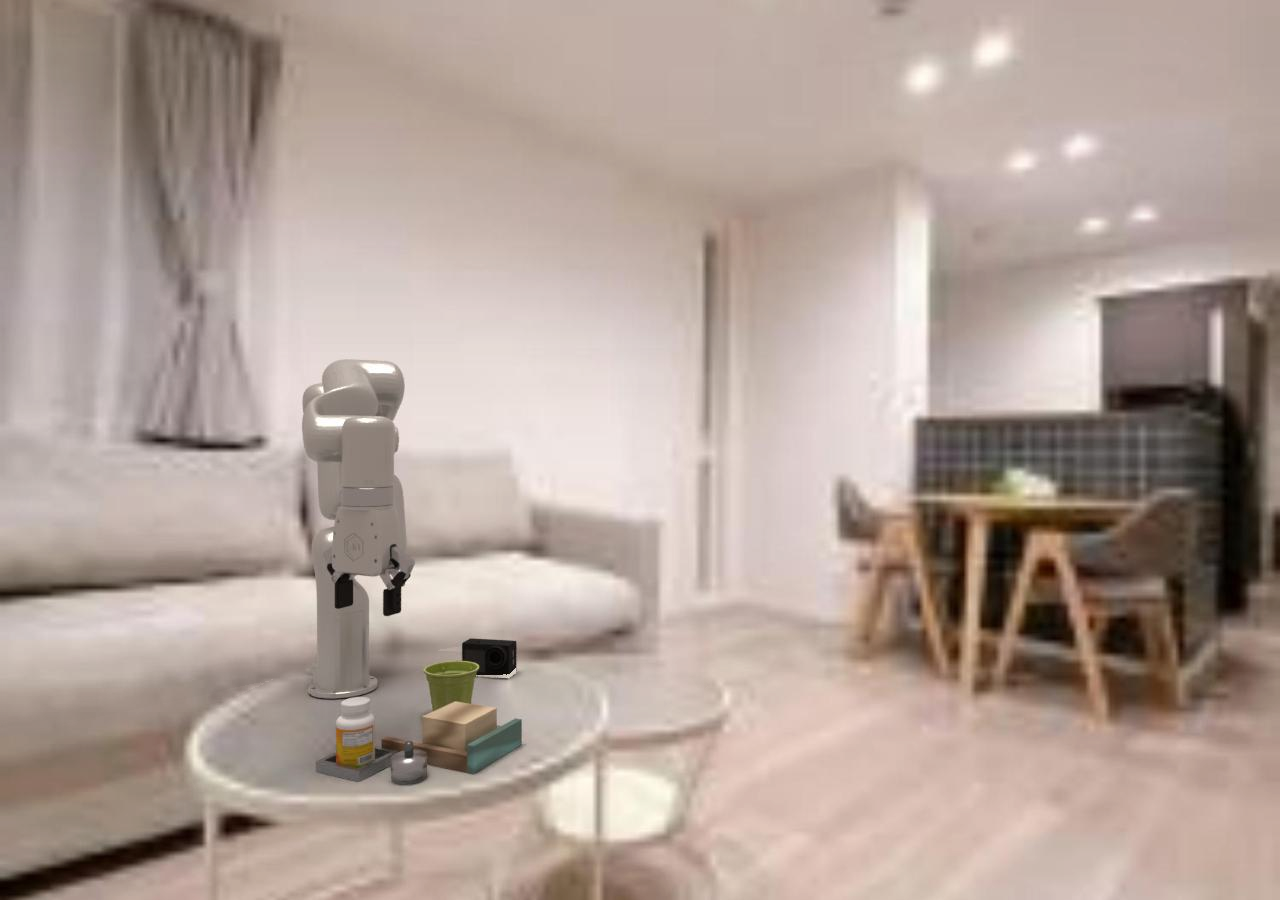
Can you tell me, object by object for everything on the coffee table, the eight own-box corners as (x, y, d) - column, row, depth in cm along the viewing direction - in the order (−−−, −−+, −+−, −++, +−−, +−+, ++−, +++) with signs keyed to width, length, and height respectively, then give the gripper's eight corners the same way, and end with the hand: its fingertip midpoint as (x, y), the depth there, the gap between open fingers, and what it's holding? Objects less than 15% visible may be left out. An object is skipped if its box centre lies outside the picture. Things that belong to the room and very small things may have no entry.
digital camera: (458, 678, 162) (458, 643, 162) (470, 670, 167) (469, 637, 167) (506, 681, 160) (506, 646, 160) (516, 673, 165) (516, 640, 165)
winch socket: (315, 771, 115) (315, 737, 115) (357, 752, 123) (357, 719, 123) (402, 791, 108) (402, 755, 108) (441, 769, 116) (441, 735, 116)
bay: (381, 754, 121) (381, 715, 121) (434, 728, 133) (434, 692, 133) (474, 774, 114) (473, 732, 114) (521, 744, 126) (521, 706, 126)
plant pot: (423, 711, 142) (423, 662, 142) (477, 706, 144) (476, 658, 144) (423, 729, 133) (423, 677, 133) (481, 723, 135) (481, 672, 135)
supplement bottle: (342, 760, 119) (341, 695, 119) (378, 759, 120) (378, 694, 120) (331, 775, 114) (331, 707, 114) (369, 773, 114) (369, 706, 114)
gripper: (306, 497, 121) (306, 609, 121) (394, 503, 113) (393, 622, 114) (344, 493, 128) (344, 599, 128) (429, 499, 120) (429, 612, 121)
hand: (367, 610), depth 121 cm, fingers open, 9 cm apart
